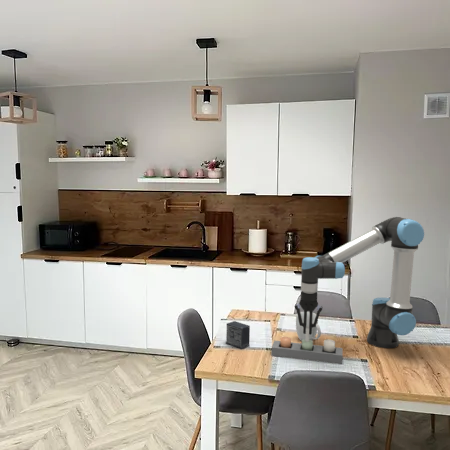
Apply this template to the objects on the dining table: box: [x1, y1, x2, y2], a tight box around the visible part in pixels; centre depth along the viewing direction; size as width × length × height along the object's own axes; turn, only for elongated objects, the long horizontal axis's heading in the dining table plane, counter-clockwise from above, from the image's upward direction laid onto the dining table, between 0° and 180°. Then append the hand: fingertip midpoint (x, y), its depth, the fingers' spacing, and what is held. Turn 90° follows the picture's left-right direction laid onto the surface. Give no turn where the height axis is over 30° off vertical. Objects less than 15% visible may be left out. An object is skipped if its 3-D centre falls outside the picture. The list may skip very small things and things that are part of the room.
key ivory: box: [323, 338, 336, 352], centre depth 199 cm, size 5×5×4 cm
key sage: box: [301, 339, 314, 351], centre depth 202 cm, size 5×5×4 cm
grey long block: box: [270, 340, 343, 365], centre depth 202 cm, size 32×9×4 cm, turn 75°
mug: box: [295, 311, 322, 342], centre depth 221 cm, size 15×11×13 cm
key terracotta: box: [279, 336, 292, 348], centre depth 204 cm, size 5×5×4 cm
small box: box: [225, 320, 251, 350], centre depth 214 cm, size 11×6×10 cm, turn 47°
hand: (307, 340), depth 202 cm, fingers closed
